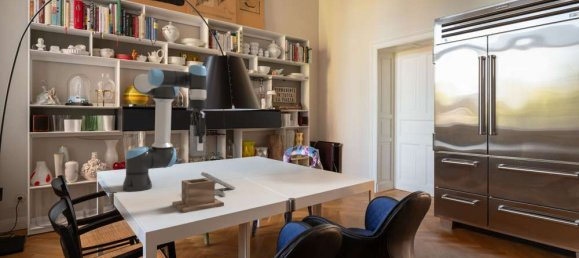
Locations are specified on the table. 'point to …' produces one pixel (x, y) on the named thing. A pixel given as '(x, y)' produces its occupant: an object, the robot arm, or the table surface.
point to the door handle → (218, 183)
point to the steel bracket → (194, 142)
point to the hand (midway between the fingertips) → (198, 149)
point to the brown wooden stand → (197, 195)
